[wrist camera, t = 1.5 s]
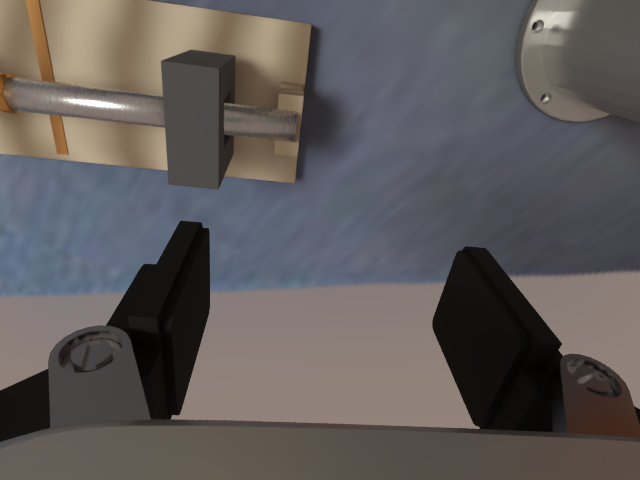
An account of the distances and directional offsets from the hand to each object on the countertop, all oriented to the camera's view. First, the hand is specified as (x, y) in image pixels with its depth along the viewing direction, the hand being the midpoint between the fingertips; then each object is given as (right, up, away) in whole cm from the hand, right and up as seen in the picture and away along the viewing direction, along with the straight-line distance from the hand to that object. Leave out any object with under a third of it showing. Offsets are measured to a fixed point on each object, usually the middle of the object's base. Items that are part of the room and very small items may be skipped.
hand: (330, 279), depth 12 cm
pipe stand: (-14, +13, +19) cm, 27 cm away
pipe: (-14, +10, +14) cm, 22 cm away
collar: (-8, +11, +17) cm, 22 cm away
